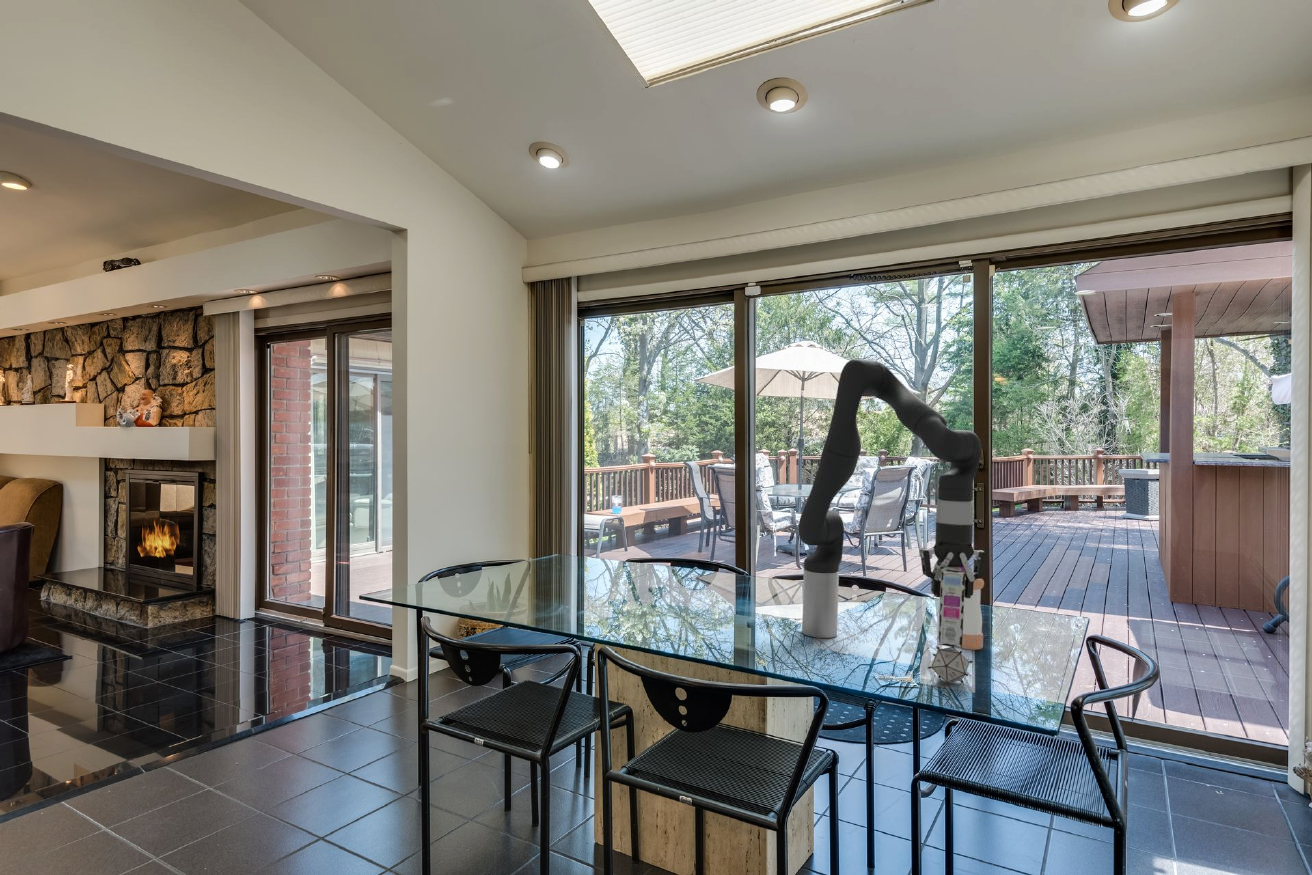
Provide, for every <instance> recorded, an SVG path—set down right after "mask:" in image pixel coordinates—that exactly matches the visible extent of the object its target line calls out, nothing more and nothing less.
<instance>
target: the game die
mask: <svg viewBox="0 0 1312 875" xmlns="http://www.w3.org/2000/svg"><path fill="white" fill-rule="evenodd" d="M936 649H937V651H936V653H932V656H933V657H934V658H933V661H932V663H931V666H927V669H928V670H931V669H932V670H933V671H934V672H935V674H937V675H938V679H942V680H943V681H944V682H945V686H947V687H948V686H949V684H950V683H956V682H959V681H960V682H961V684H965V683H964V682H965V681H964V680H963V679H964V677H969V674H968V673H967V671H968V669H969V664H973V662H974V661H973V660H968V659H967V658H966V657H965V656H964V655H963V651H962V650H958V649H956V647H950V646H949V647H945V648H940V647H939V646H936Z"/></svg>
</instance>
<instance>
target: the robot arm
mask: <svg viewBox="0 0 1312 875" xmlns="http://www.w3.org/2000/svg"><path fill="white" fill-rule="evenodd" d="M863 397H869V398H872V397H873V398H877V399H879V400H881V401H882V402H884V403H886V404H888V405H889V406H890V407H891V408H892V409H893V411H894V413H895V415H896V417H897V419H898V421H899V422H900V423H901V424H902V425H903V426H904V427H905V428H906V429H907V430H909V431H910V432H911V433H912V434H914V435H915V436H916V437H918V438H919V439H920V440H921V441H922V443H923V444H924V446H926V448H927V449H928V451H929V452H930V453H931V454H932V455H933V456H934V457H935V458H937V459H939V460H941V461H943V462H946V463H951V464H950V467H949V470H948V471H947V472H944V473H942V474H941V475H940V476H939V478H938V485H937V486H938V487H937V489H938V490H937V504H936V509H935V510H936V512H935V513H936V514H935V538H934V540H935V543H934V545H933V547H932V548H920V550H919V552H920V553H919V554H920V561H921V569H922V575H923V576H925V577H927V578H930V579H931V580H930V581H931V582H930V584H931V586H930V588H931V590H930V592H931V593H932V594H933V596H934V597H935V598H940V586H941V581H940V579H941V568H942V567H964V570H965V578H966V580H965V596H964V597H965V598H970V597H971V596H972V595H973V585H974V581H975V580H976V579H982V580H983V578H984V572H985V568H986V562H987V557H988V553H987V552H986V551H984V550H981V549H979V550H977V549H976V550H975V549H974V548H973V536H974V535H973V530H974V529H973V528H974V506H973V505H974V504H973V494H974V492H973V491H974V487H973V486H974V480H975V477H976V474H977V471H978V468H979V465H980V464H979V463H980V461H981V457H982V443H981V441H980V438H979V436H978V435H977V434H976V433H975V432H973V431H971V430H965V429H964V430H963V429H962V430H961V429H951V428H949V427H948V423H947V420H946V418H945V417H944V415H942V414H941V413H940V412H938V411H937V410H936V409H934V408H933V407H931V405H928V404H927V403H926V402H924V401H923V400H922V399H920V398H919V397H917V395H915V394H914V393H913V392H912V391H911V390H909V388H908V387H906V386H905V385H904V384H903V382H901V381H900V379H899V378H897V376H896V375H895V374H894V373H893V372H892V371H891V370H890V369H889V367H887V366H886V365H885V364H884V363H883V362H881V361H878V360H872V359H861V358H854V359H850V360H849V361H846V363H845V365H844V366H843V368H842V370H841V372H840V375H839V380H838V385H837V390H836V397H835V403H834V408H833V412H832V416H831V419H830V424H829V429H828V431H827V434H826V435H827V436H826V439H825V442H824V445H823V448H822V451H821V456H820V459H819V464H818V468H817V471H816V474H815V478H814V480H813V483H812V487H811V490H810V492H809V495H808V497H807V500H806V503H805V505H804V508H803V510H802V512H801V515H800V519H799V521H798V529H797V530H798V536H799V538H800V540H801V542H802V543H803V544H804V545H806V546H812V547H813V546H814V547H815V546H816V549H815V550H814V551H813V552H812V553H811V554H810V555H808V556H806V557H805V558H804V561H803V584H802V586H803V587H802V588H803V589H802V590H803V592H802V617H801V618H802V619H801V622H802V626H801V627H802V628H801V633H802V634H803V635H805V636H808V637H812V638H819V639H830V638H835V637H837V635H838V616H839V615H838V614H839V613H838V612H839V580H840V577H839V574H840V566H841V565H840V564H841V563H842V560H843V551H844V550H843V549H844V537H845V526H844V521H843V518H842V517H841V515H840V514H839V513H838V512H837V511H835V510H831V509H830V506H831V504H832V502H833V500H834V498H835V497H836V496H837V495H838V493H840V491H841V490H842V489H843V488H844V486H845V485H846V484H847V483H848V482H849V480H850V479H851V477H852V476H853V475H854V473H855V471H856V468H857V464H858V461H859V458H860V454H861V450H862V443H861V436H860V433H859V428H858V423H857V422H858V420H857V417H858V416H857V415H858V411H859V406H860V403H861V400H862V398H863ZM933 555H935V557H936V558H937V560H936V561H935V564H934V568H933V569H932V564H931V559H932V558H933ZM972 557H973V558H974V560H975V561H974V567H973V571H972V567H971V565H970V564H969V561H970V559H971V558H972Z"/></svg>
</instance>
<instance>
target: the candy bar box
mask: <svg viewBox="0 0 1312 875" xmlns="http://www.w3.org/2000/svg"><path fill="white" fill-rule="evenodd" d="M939 580H940V581H941V586H940V597H939V604H938V605H939V606H938V607H939V609H938V611H939V612H938V645H939V646H944V647H949V648H950V647H954V648H958V649H959V648H960V649H963V648H962V640H963V620H964V596H965V570H964V567H942V568H941V577H940V579H939Z"/></svg>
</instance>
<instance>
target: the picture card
mask: <svg viewBox="0 0 1312 875" xmlns="http://www.w3.org/2000/svg"><path fill="white" fill-rule="evenodd" d="M874 676H878V675H876V674H875V675H873V677H874ZM889 676H890V677H885V678H884V677H875V678H879V680H900V681H898V682H915V681H914V679H913V678H912V677H911V676H904V677H896V678H912V680H913V681H912V680H911V679H892V678H895V677H893V676H894V675H889ZM875 678H874V679H875ZM901 680H902V681H901ZM903 680H907V681H903ZM887 682H888V681H887ZM890 682H891V681H890ZM892 682H894V681H892ZM910 685H917V687H919V688H920V686H919V685H918V684H917V683H916V682H915V683H914V684H910Z"/></svg>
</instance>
